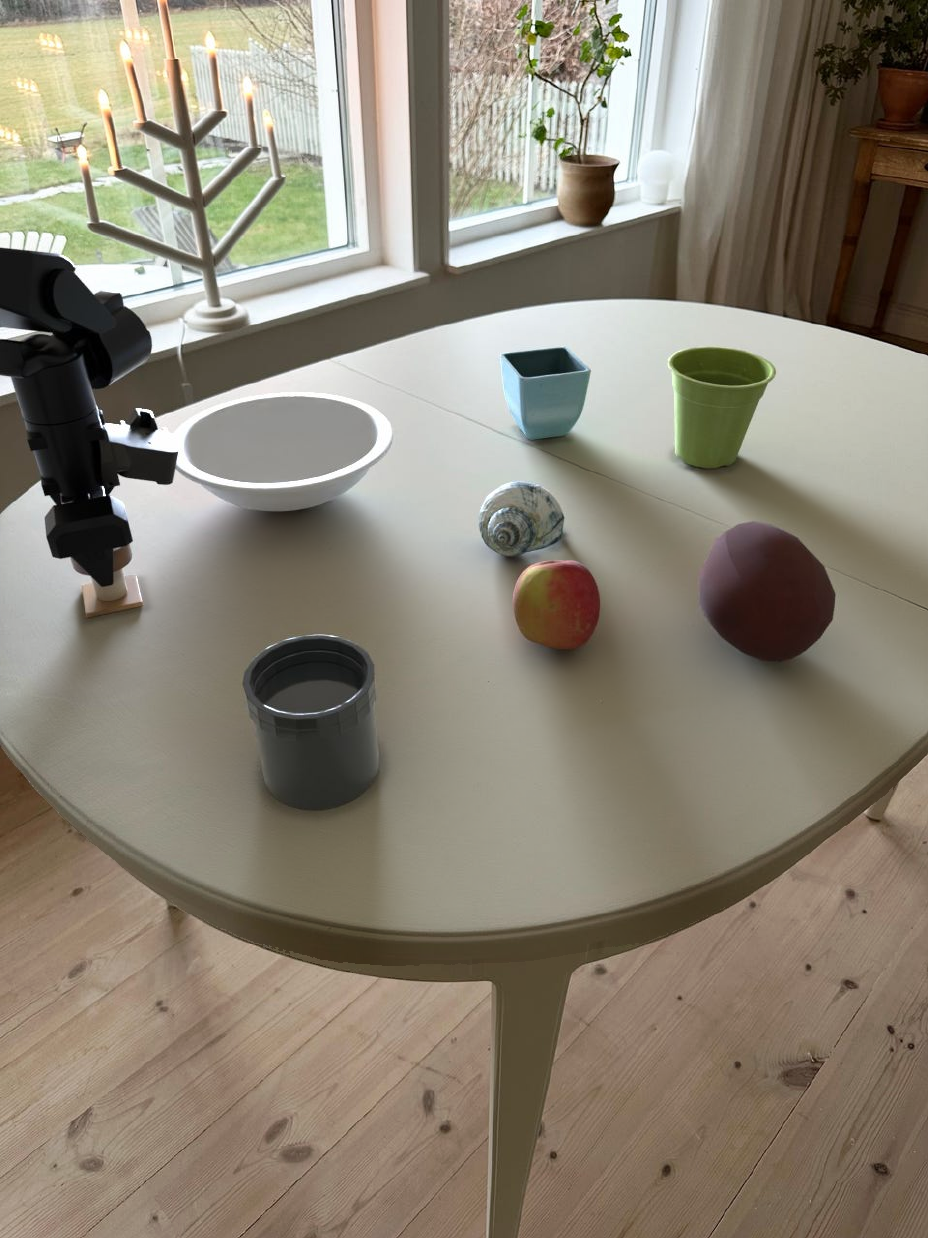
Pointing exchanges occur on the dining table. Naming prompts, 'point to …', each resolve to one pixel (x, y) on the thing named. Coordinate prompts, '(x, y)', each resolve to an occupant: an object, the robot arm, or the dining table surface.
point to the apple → (557, 604)
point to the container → (314, 720)
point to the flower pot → (544, 390)
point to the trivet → (103, 607)
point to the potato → (765, 592)
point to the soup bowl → (282, 449)
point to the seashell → (520, 519)
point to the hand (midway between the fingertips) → (104, 569)
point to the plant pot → (715, 401)
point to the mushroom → (119, 587)
